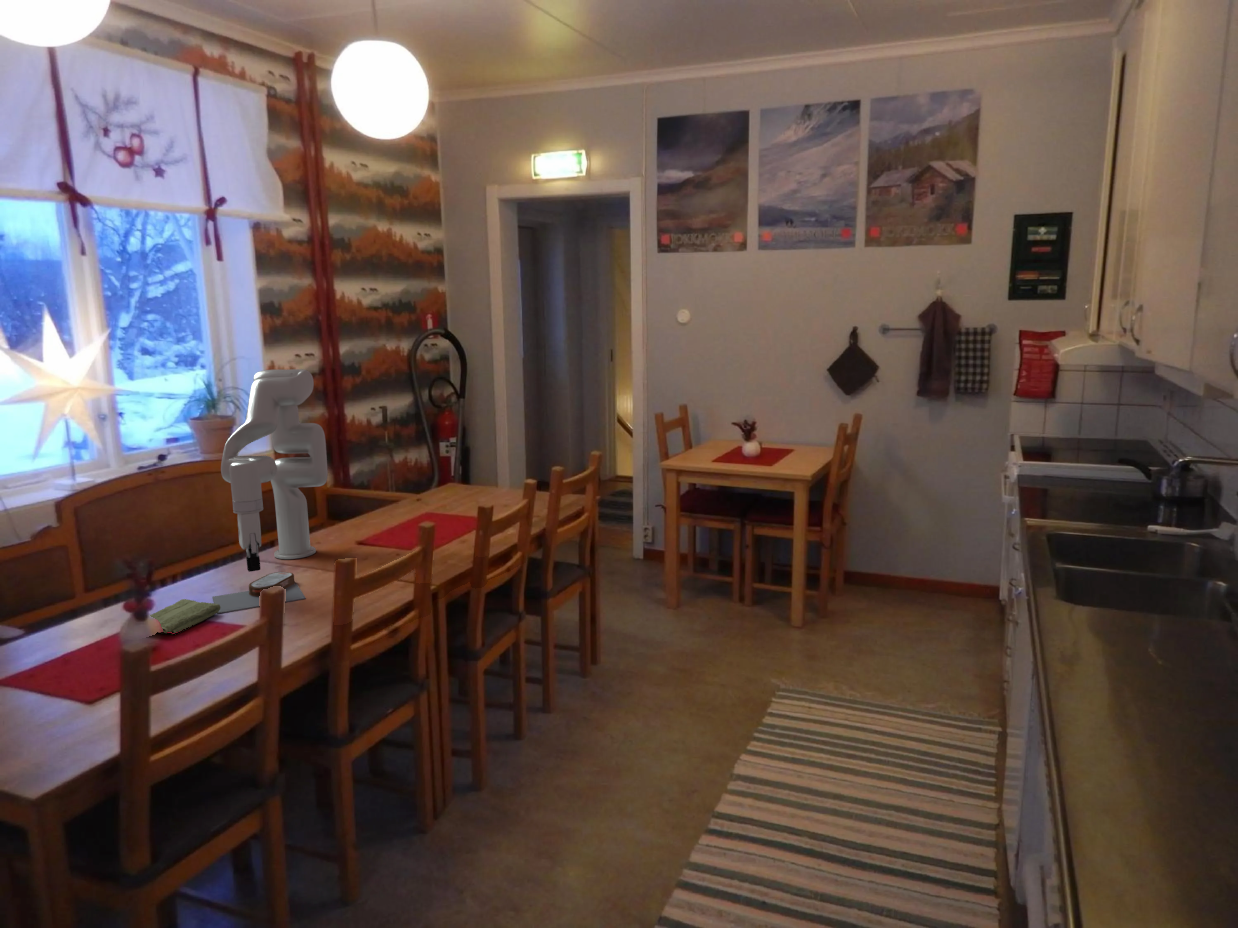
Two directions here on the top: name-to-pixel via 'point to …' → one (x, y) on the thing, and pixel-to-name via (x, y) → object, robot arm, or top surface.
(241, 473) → the robot arm
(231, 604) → the mat
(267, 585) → the tin
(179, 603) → the washcloth
